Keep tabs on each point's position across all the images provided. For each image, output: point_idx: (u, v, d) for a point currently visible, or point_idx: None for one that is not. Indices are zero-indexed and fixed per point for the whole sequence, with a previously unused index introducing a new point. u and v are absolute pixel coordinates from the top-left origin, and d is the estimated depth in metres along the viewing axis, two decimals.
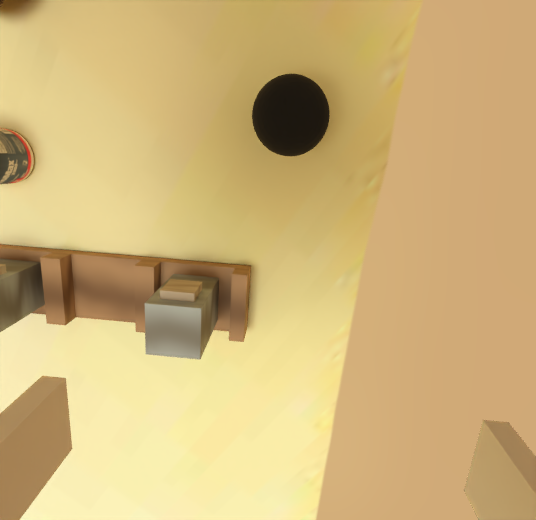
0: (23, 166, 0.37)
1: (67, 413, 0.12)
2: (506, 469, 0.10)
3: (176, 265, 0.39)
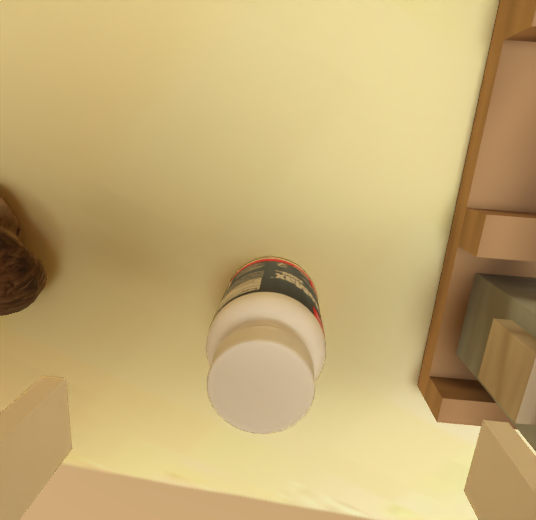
0: (288, 268, 0.20)
1: (67, 413, 0.12)
2: (506, 469, 0.10)
3: None
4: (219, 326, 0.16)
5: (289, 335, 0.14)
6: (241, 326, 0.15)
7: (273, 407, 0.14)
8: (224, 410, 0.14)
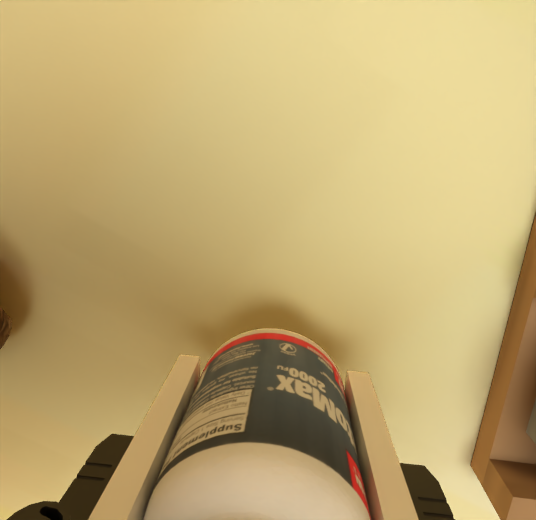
0: (299, 355, 0.12)
1: None
2: (352, 406, 0.12)
3: None
4: (160, 518, 0.08)
5: None
6: None
7: None
8: None
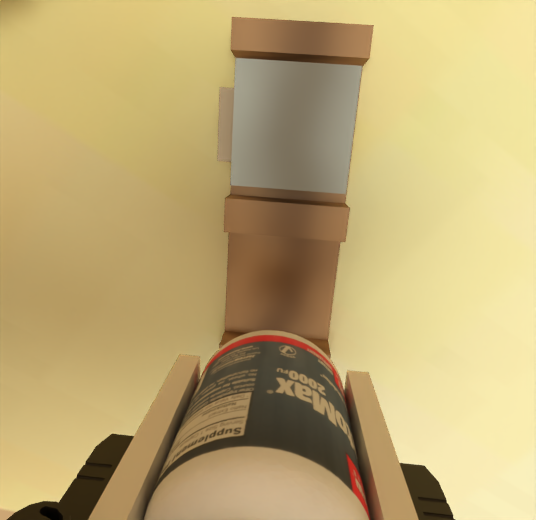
0: (298, 357, 0.12)
1: None
2: (352, 406, 0.12)
3: None
4: None
5: None
6: None
7: None
8: None
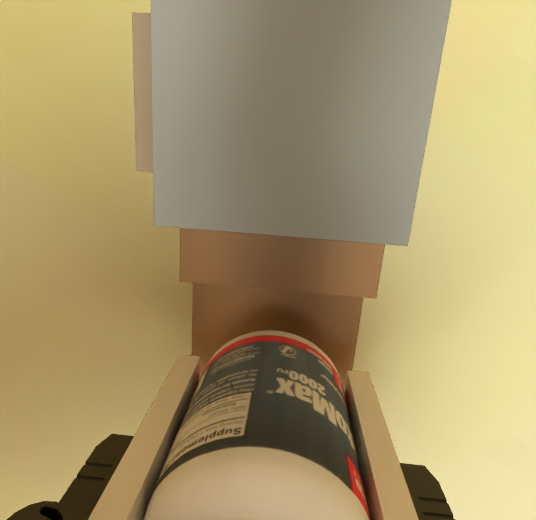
0: (298, 357, 0.12)
1: None
2: (352, 406, 0.12)
3: None
4: None
5: None
6: None
7: None
8: None
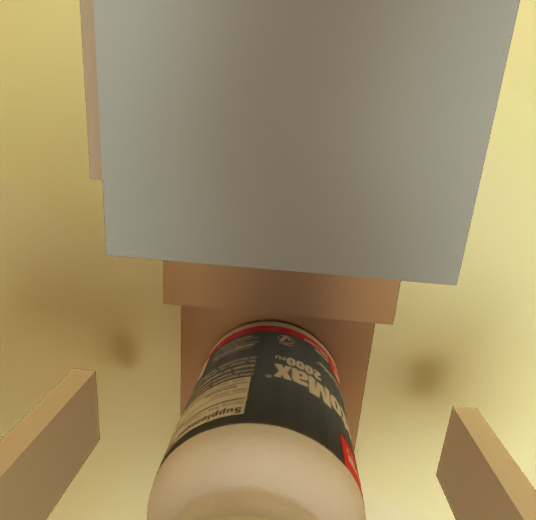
0: (296, 346, 0.12)
1: (96, 405, 0.13)
2: (471, 452, 0.11)
3: None
4: (166, 493, 0.08)
5: None
6: (206, 502, 0.08)
7: None
8: None
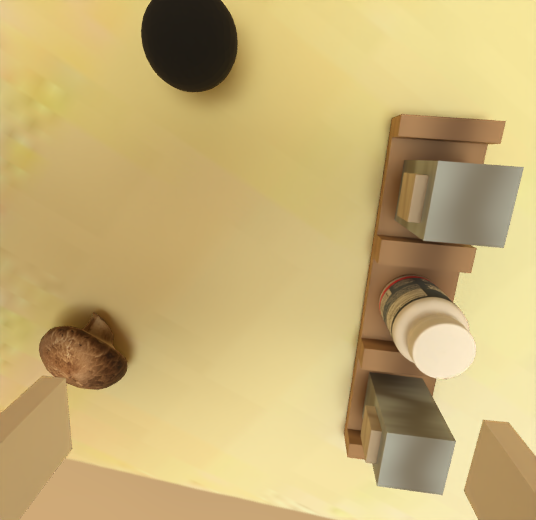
0: (429, 282, 0.31)
1: (67, 413, 0.12)
2: (506, 469, 0.10)
3: (383, 215, 0.31)
4: (406, 317, 0.26)
5: (458, 322, 0.25)
6: (423, 317, 0.26)
7: (450, 362, 0.25)
8: (421, 364, 0.25)
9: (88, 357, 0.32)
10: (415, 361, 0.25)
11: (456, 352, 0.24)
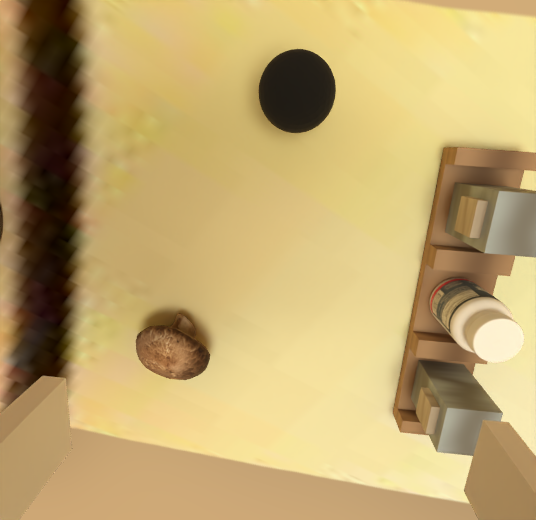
0: (474, 284, 0.37)
1: (67, 413, 0.12)
2: (506, 469, 0.10)
3: (435, 228, 0.37)
4: (464, 313, 0.33)
5: (509, 317, 0.31)
6: (478, 313, 0.32)
7: (503, 349, 0.31)
8: (480, 351, 0.31)
9: (184, 352, 0.38)
10: (475, 349, 0.31)
11: (508, 341, 0.31)
